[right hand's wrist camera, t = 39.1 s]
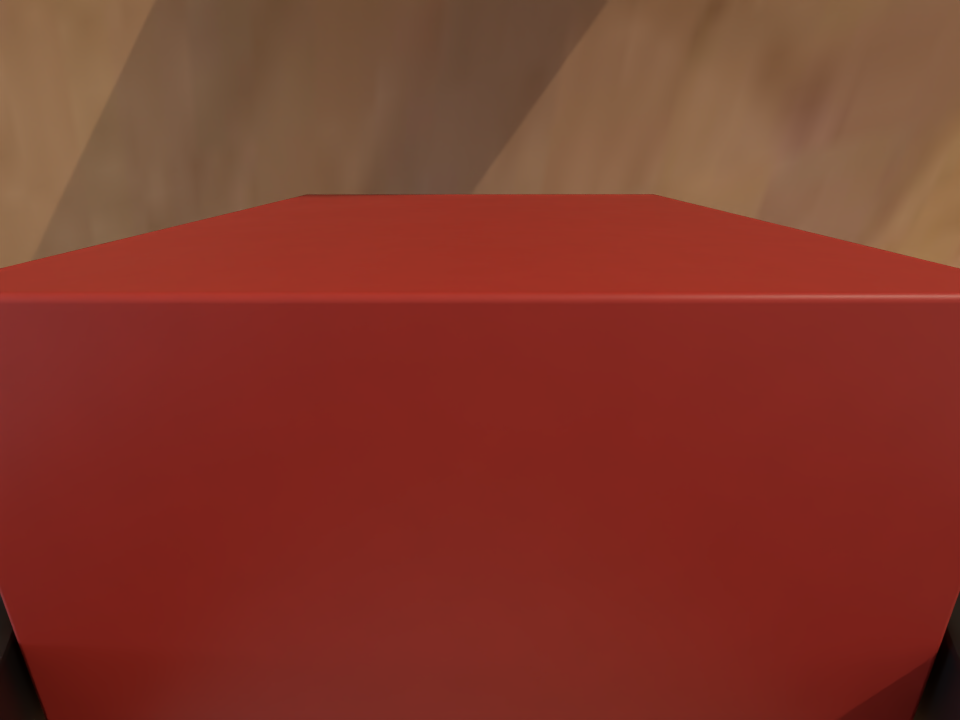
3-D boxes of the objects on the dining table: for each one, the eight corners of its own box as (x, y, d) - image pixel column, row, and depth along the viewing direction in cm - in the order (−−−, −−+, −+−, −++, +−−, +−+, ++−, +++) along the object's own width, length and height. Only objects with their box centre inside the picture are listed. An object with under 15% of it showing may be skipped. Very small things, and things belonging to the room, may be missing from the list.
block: (623, 512, 17) (817, 999, 7) (336, 512, 17) (143, 996, 7) (655, 194, 14) (1072, 293, 4) (304, 194, 14) (-115, 293, 4)
